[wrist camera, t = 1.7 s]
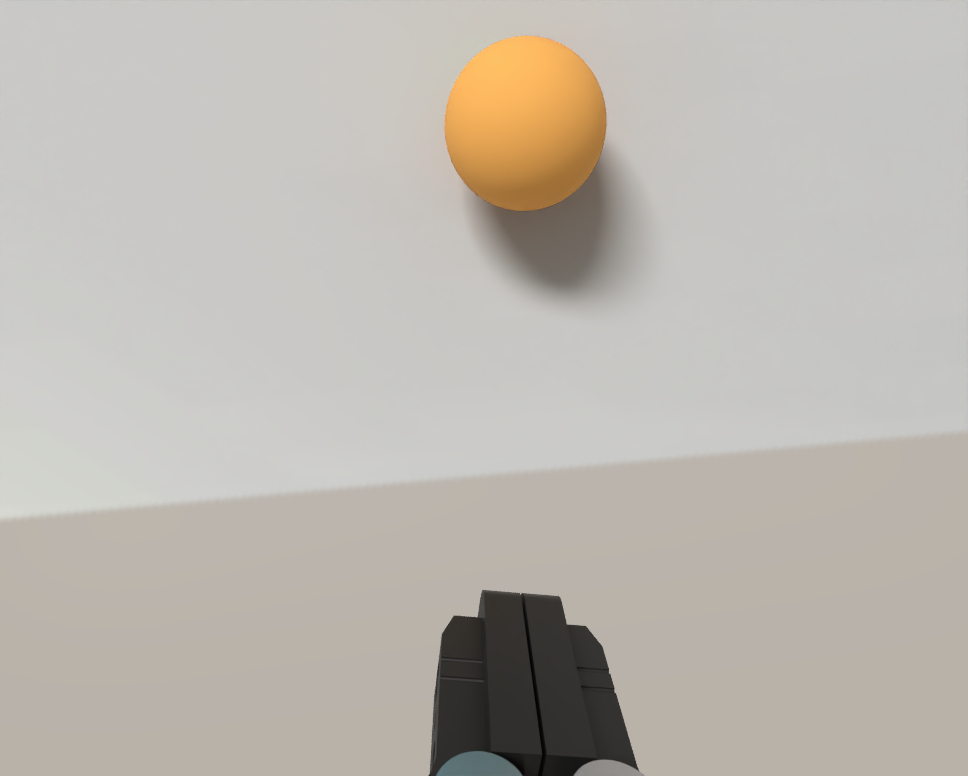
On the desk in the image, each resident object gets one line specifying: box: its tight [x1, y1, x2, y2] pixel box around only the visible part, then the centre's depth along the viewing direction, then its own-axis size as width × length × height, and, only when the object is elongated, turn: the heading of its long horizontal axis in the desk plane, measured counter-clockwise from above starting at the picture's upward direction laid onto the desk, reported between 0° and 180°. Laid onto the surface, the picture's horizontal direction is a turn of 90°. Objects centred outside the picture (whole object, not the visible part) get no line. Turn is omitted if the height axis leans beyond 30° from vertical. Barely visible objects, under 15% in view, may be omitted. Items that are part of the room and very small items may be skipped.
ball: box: [445, 36, 606, 211], centre depth 21 cm, size 6×6×6 cm
